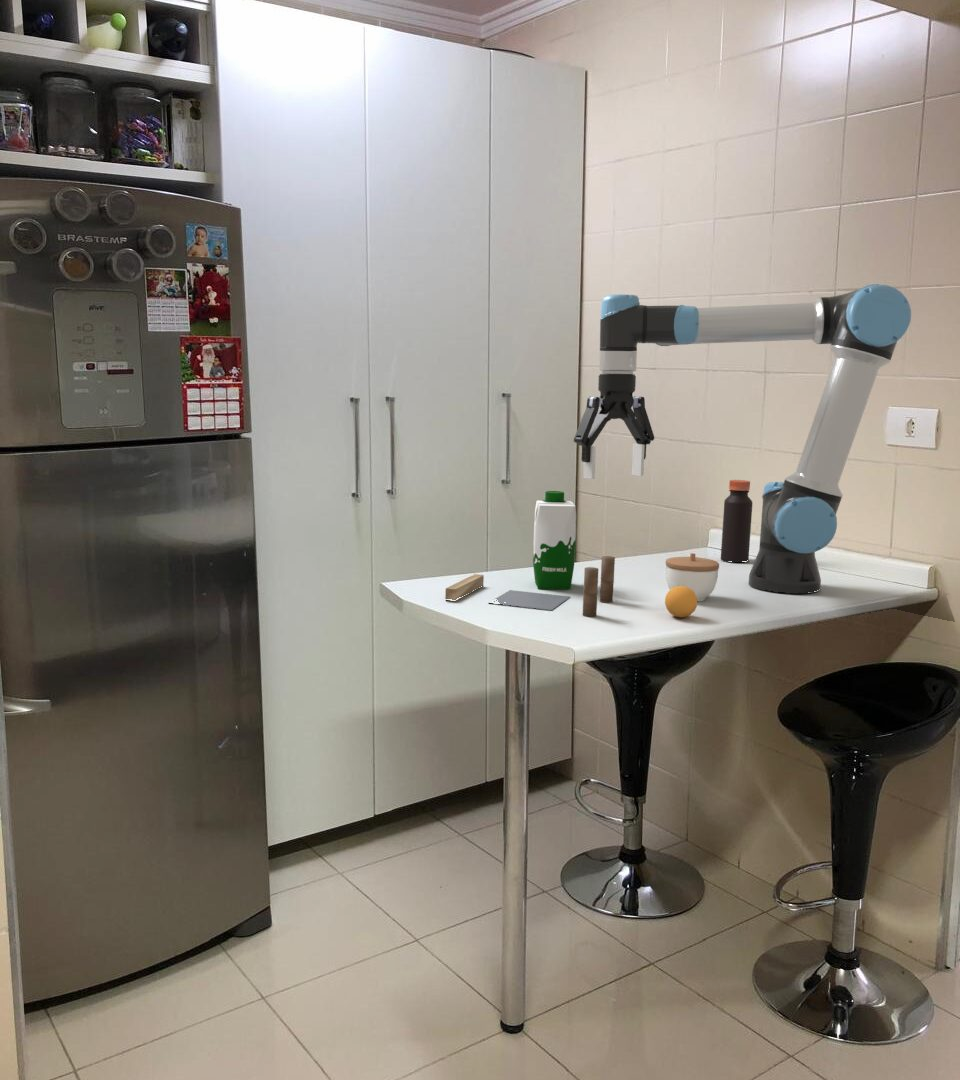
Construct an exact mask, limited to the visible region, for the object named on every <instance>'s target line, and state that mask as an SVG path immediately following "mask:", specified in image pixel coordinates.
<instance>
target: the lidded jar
mask: <svg viewBox="0 0 960 1080" xmlns="http://www.w3.org/2000/svg"><path fill="white" fill-rule="evenodd" d="M719 569H720V563H719V562H718V561H716V560H714V559H710V558H707V557H706V558H705V557H704V558H703V557H697V556H696V553H694V552H693V553H690V554H689V556H675V557H669V558H667V559H665V578H666V584H667V587H668V590H669V591H670V590H671V589H672V588H674V587H676V586H686V587H688V588H690V589H691V590H692V591H693V592H694V593H695V595H696V597H697V601H698V602H704V601H705V600H706V599H707V598H708V596H710V595H711V594H713V592H714V590H715V588H716V585H717V583H718V577H719V575H718V574H719ZM703 600H704V601H703Z"/></svg>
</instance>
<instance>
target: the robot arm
mask: <svg viewBox="0 0 960 1080" xmlns="http://www.w3.org/2000/svg"><path fill="white" fill-rule="evenodd" d="M911 319H912V310H911V305H910V302H909V301H908V298H907V297H906V296H905V295H904V293H902V291H900V289H897V288H896V287H894V286H891V285H887V284H879V283H875V284H867V285H864V286H863V287H861V288H859V289H856V290H855V289H854V291H851V292H848V293H843V294H840V295H834V296H824V297H823V296H822V297H821V296H820V297H817V298H816V299H815V300H814V301H813V302H803V303H802V302H800V303H798V302H797V303H778V304H759V305H758V304H757V305H735V306H713V307H697V306H694V305H683V304H679V305H644V304H641V303H640V298H639V296H638V295H635V294H609V295H608V294H607V295H606V296H605V297H603V298H602V300H601V309H600V321H599V322H600V324H599V327H600V328H599V358H598V359H599V363H598V364H599V365H598V370H599V371H601V373H599V375H598V383H597V384H598V387H597V388H598V391H599V393H600V396H588V397H587V401H586V406H585V407H586V408H585V411H584V413H583V415H582V418H581V419H580V422H579V425H578V428H577V430H576V433H575V434H574V437H573V442H574V443H576V444H577V445H578V446H581V462H583V463H582V464H583V465H582V478H584V479H590V480H595V476H596V475H595V474H596V448H597V447H596V446H593V445H594V443H595V442H596V440H597V439H598V437H599V436H600V435H601V433H602V431H603V430H604V427H605V426H606V425H607V423H608V422H610V421H611V420H617V419H618V420H620V419H621V420H622V421H623V422H624V425H626V428H627V429H628V431H629V432H630V434H631V436H632V437H633V439H634V440H635V441H634V442H635V443H632V454H631V455H632V458H631V475H632V476H639V477H640V476H641V477H644V468H645V467H644V466H645V464H644V463H645V460H646V457H647V445H650V444H651V442H653V441H654V440H655V434H654V432H653V429H652V425H651V422H650V419H649V416H648V413H647V409H646V405H645V404H646V402H645V397H644V396H633V394H634V393H635V391H636V383H637V379H636V378H637V376H636V375H635V374H634V372H636V371H637V358H638V357H637V353H638V347H637V346H638V344H655V345H657V346H660V347H669V346H682V345H698V344H699V345H701V344H703V345H704V344H728V343H748V342H749V343H756V342H757V343H758V342H781V341H783V342H784V341H785V342H786V341H805V340H807V341H809V340H811V341H813V342H814V343H815V345H830V349H831V351H832V353H833V355H834V360H833V363H832V364H831V367H830V371H829V374H828V377H827V380H826V382H825V386H824V388H823V390H822V394H821V397H820V400H819V403H818V406H817V409H816V412H815V415H814V417H813V420H812V424H811V426H810V430H809V432H808V436H807V438H806V441H805V444H804V447H803V450H802V452H801V456H800V458H799V462H798V464H797V467H796V469H795V472H793V474H790V475H789V476H786V477H785V479H784V481H771V482H767V483H766V484H765V485H764V486H763V487H764V488H763V493H762V496H761V498H762V510H761V523H760V535H759V546H758V547H759V549H758V553H757V554H756V557H755V558H754V559H755V560H754V562H753V563H752V567H751V570H750V572H749V575H748V586H750V585H751V586H750V587H752V586H753V587H752V588H754V587H755V588H754V589H757V588H758V589H757V590H761V589H762V591H765V590H768V591H767V592H771V591H775V592H774V593H778V592H786V593H785V594H790V593H807V594H809V593H808V592H814V591H817V590H819V589H820V590H821V585H822V584H821V583H822V579H821V575H820V570H819V567H818V563H817V558H816V553H815V552H818V551H820V550H822V549H824V548H826V547H827V546H828V545H829V544H830V543H831V541H832V540H833V539H834V538H835V537H834V536H836V534H837V533H836V532H837V526H838V519H837V512H838V510H839V507H840V504H841V502H842V499H843V495H844V494H843V493H842V490H841V489H840V486H839V483H840V480H841V477H842V475H843V471H844V468H845V465H846V463H847V461H848V457H849V455H850V451H851V450H852V446H853V443H854V440H855V438H856V435H857V432H858V429H859V427H860V423H861V421H862V418H863V414H864V412H865V409H866V406H867V403H868V401H869V398H870V395H871V392H872V390H873V387H874V383H875V381H876V378H877V375H878V373H879V370H880V369H881V368H882V367H884V366H886V365H888V364H889V363H891V360H892V357H893V354H894V352H895V349H896V346H897V343H898V341H899V340H900V339H902V338H903V336H904V335H905V333H906V332H907V331H908V330H909V327H910V323H911Z"/></svg>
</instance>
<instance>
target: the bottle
mask: <svg viewBox="0 0 960 1080" xmlns="http://www.w3.org/2000/svg"><path fill="white" fill-rule="evenodd" d="M728 484H729V486H728V491H729V492H730V493H729V495H728V496H727V497H726V498H725V499H724V501H723V502H724V503H723V515H722V518H723V520H722V534H721V549H720V560H721V561H722V560H724V561H723V562H725V561H732V562H742V561H747V560H748V561H749V560H750V558H749V557H750V545H751V543H750V542H751V530H752V515H753V513H752V512H753V500H752V499H751V498H750V497H749V493H750V490H751V489H750V488H751V481H750V480H745V479H730V480H729V483H728Z"/></svg>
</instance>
